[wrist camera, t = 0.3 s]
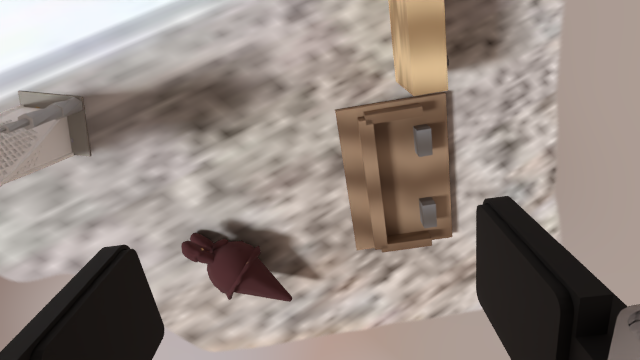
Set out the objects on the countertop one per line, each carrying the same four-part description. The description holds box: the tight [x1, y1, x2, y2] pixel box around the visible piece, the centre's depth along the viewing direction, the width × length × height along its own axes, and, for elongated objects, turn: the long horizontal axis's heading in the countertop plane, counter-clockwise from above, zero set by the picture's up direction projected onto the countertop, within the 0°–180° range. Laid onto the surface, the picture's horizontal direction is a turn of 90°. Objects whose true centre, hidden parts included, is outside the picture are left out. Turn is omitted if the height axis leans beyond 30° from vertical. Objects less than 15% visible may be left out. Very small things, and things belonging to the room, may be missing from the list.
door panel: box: [388, 0, 449, 96], centre depth 36 cm, size 12×4×9 cm, turn 10°
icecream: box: [182, 233, 292, 301], centre depth 48 cm, size 7×7×15 cm
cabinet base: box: [335, 92, 452, 252], centre depth 45 cm, size 18×12×3 cm, turn 10°
